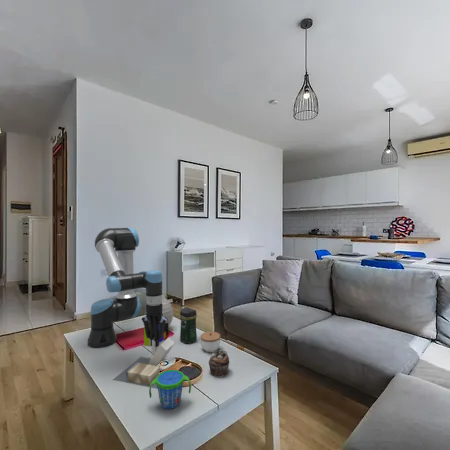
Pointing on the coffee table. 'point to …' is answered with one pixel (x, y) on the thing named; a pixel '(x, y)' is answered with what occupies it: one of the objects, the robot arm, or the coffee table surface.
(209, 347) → the lidded jar
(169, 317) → the vase
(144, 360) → the mat
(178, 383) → the snack cup
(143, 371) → the oak slab
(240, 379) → the coffee table surface
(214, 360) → the cupcake
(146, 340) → the puzzle toy
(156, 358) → the cream slab
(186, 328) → the coffee jar
